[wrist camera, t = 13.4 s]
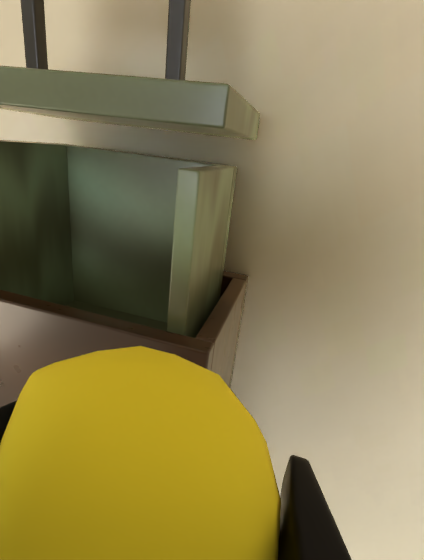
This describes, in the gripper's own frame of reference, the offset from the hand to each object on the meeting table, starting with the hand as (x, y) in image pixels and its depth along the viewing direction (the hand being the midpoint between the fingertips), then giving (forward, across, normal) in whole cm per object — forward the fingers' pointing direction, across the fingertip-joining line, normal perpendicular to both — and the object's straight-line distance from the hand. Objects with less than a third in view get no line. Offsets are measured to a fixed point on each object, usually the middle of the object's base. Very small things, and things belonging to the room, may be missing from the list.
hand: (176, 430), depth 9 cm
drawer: (+11, +6, -5) cm, 14 cm away
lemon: (+1, 0, 0) cm, 1 cm away
